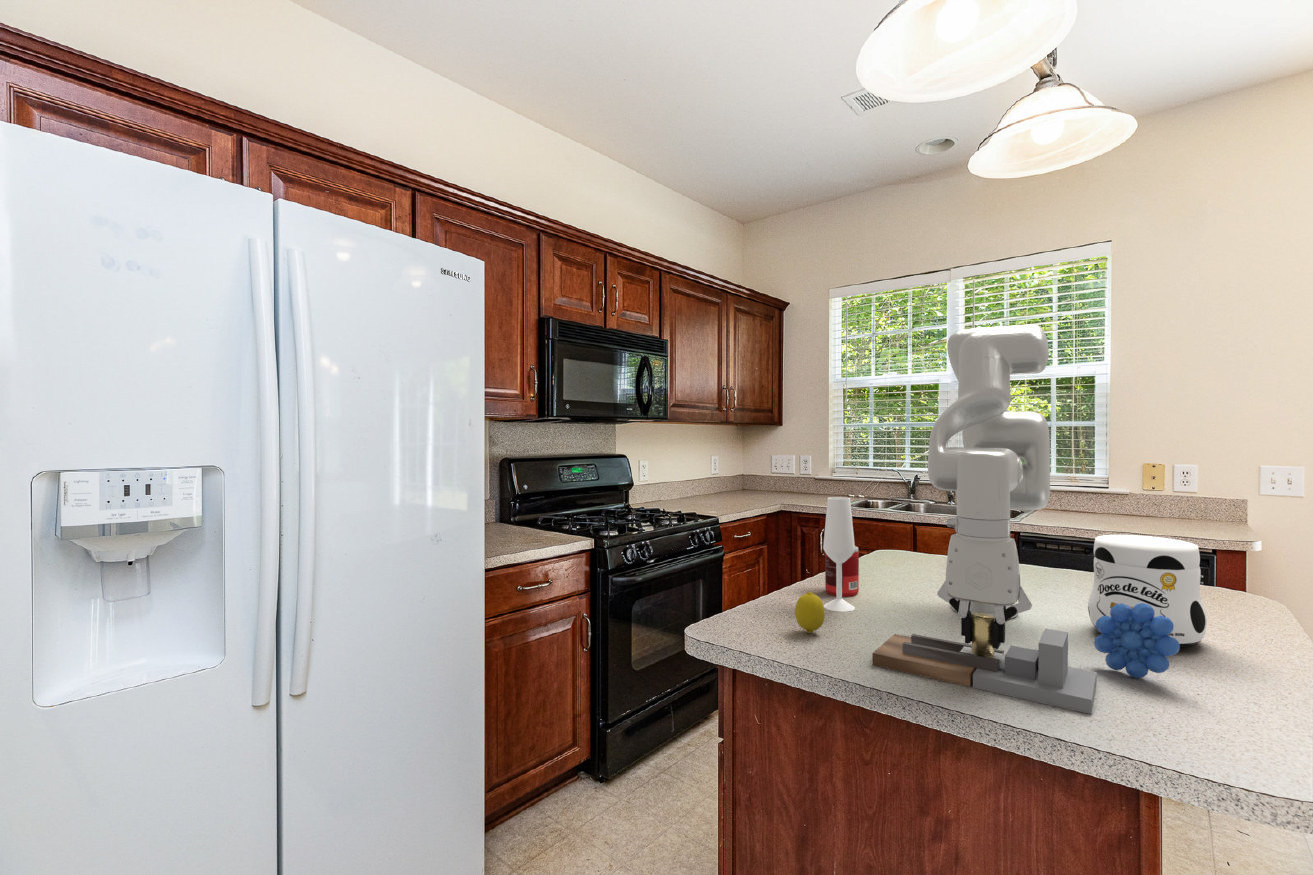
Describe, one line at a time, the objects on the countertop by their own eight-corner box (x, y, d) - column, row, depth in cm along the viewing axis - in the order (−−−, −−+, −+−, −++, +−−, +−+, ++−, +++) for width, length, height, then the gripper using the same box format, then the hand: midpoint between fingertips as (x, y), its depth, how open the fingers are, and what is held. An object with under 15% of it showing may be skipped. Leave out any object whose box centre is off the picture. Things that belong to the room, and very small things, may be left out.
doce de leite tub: (1104, 648, 111) (1105, 547, 111) (1076, 620, 127) (1076, 531, 127) (1226, 660, 105) (1227, 553, 105) (1181, 628, 121) (1181, 536, 121)
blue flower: (1193, 685, 95) (1194, 607, 95) (1170, 694, 92) (1170, 613, 92) (1109, 660, 105) (1109, 589, 105) (1086, 667, 102) (1086, 594, 102)
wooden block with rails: (894, 644, 114) (894, 625, 114) (1007, 667, 103) (1007, 645, 103) (872, 665, 104) (872, 643, 104) (993, 692, 93) (993, 668, 93)
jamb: (987, 663, 104) (988, 615, 104) (1096, 685, 95) (1096, 633, 95) (972, 687, 95) (972, 635, 95) (1091, 714, 86) (1091, 656, 86)
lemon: (825, 638, 117) (825, 596, 117) (795, 637, 118) (795, 595, 118) (823, 629, 123) (823, 588, 122) (795, 627, 124) (794, 587, 124)
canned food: (859, 589, 152) (859, 544, 152) (858, 598, 144) (858, 551, 144) (826, 587, 154) (826, 543, 154) (824, 595, 147) (824, 549, 147)
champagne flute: (825, 601, 142) (824, 496, 141) (856, 604, 139) (855, 497, 139) (821, 609, 136) (821, 499, 135) (854, 613, 133) (853, 500, 133)
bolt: (964, 655, 102) (964, 610, 102) (1035, 669, 96) (1035, 621, 96) (959, 661, 100) (959, 615, 100) (1032, 675, 94) (1032, 626, 94)
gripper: (921, 526, 101) (921, 639, 101) (1040, 537, 91) (1040, 662, 91) (933, 521, 107) (933, 628, 107) (1046, 530, 97) (1046, 648, 97)
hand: (982, 642), depth 99 cm, fingers open, 3 cm apart
